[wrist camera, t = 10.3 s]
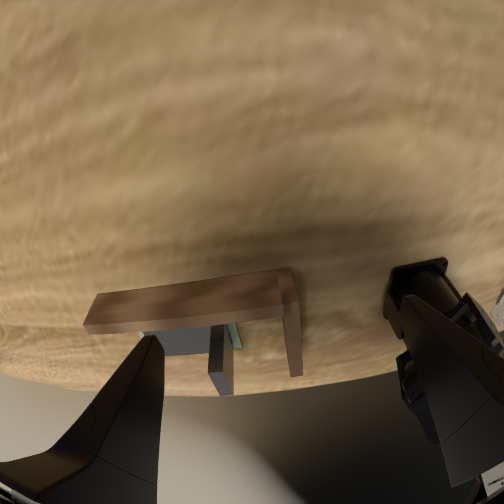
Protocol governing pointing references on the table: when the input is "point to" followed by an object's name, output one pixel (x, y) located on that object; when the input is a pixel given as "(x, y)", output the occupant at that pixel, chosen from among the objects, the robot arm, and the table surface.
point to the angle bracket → (203, 350)
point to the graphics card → (499, 308)
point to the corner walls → (204, 307)
